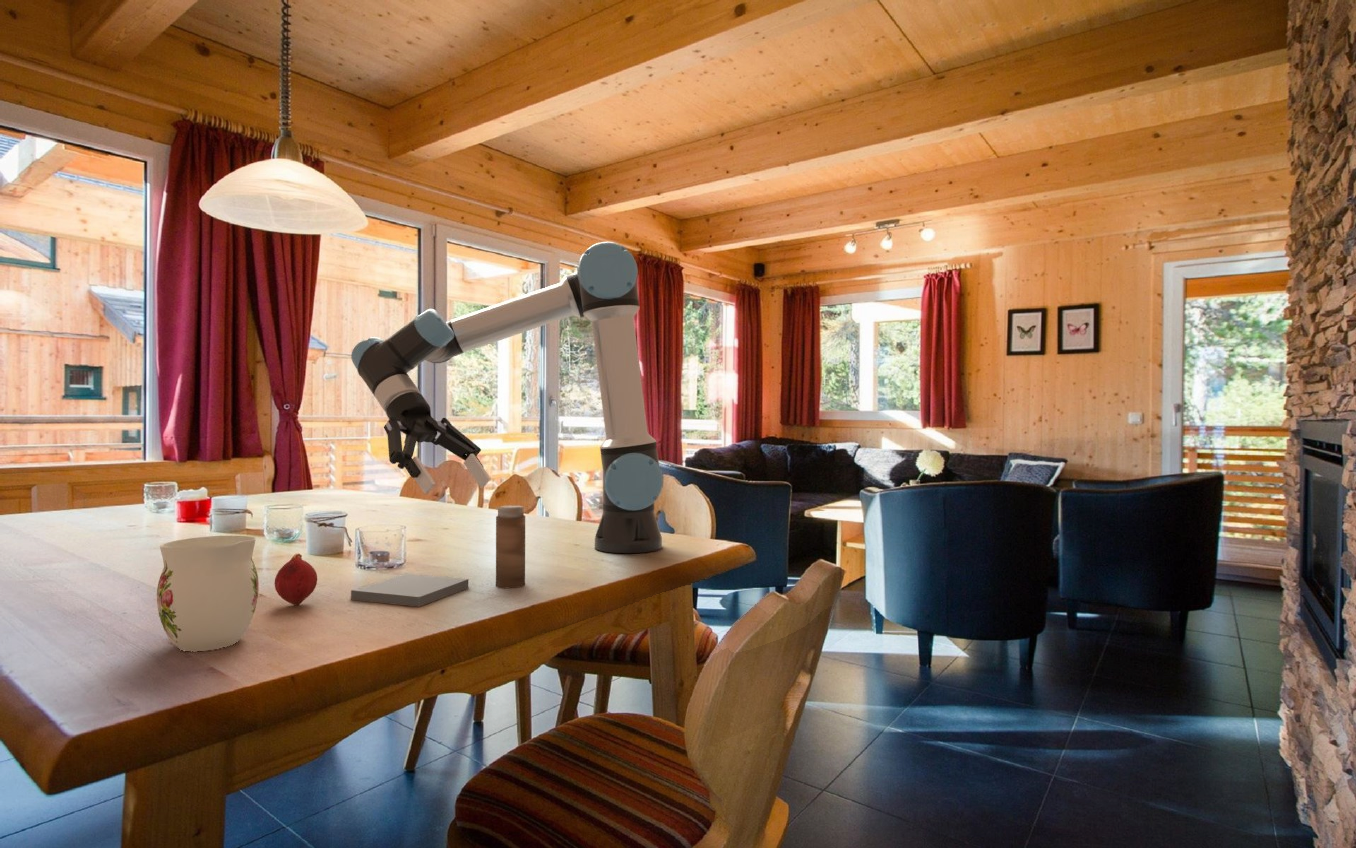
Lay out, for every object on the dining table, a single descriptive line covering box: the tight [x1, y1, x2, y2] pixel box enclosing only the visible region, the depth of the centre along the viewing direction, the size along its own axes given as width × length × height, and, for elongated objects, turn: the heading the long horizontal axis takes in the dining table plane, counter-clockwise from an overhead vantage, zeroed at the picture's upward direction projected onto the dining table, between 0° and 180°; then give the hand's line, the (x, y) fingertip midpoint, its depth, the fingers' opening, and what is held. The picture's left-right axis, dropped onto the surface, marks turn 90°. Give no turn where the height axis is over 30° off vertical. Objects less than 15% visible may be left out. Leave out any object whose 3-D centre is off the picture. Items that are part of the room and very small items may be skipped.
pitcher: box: [156, 535, 260, 653], centre depth 94 cm, size 11×18×14 cm, turn 45°
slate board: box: [350, 573, 469, 608], centre depth 120 cm, size 13×13×2 cm
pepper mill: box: [495, 505, 526, 589], centre depth 127 cm, size 5×5×14 cm
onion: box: [273, 553, 318, 606], centre depth 112 cm, size 6×6×8 cm
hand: (459, 486), depth 132 cm, fingers open, 13 cm apart
